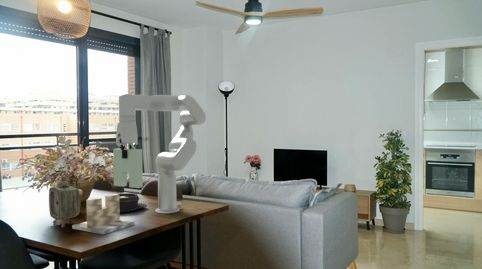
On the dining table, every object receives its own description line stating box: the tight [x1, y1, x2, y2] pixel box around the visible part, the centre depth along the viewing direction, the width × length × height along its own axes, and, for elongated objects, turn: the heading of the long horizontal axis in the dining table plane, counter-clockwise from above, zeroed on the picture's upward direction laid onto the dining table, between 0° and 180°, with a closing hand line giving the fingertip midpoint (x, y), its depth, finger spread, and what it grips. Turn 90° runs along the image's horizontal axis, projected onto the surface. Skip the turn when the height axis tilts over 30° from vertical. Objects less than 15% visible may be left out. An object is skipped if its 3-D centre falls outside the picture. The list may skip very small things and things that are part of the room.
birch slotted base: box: [71, 193, 136, 235], centre depth 176 cm, size 18×20×14 cm
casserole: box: [118, 192, 148, 214], centre depth 208 cm, size 25×19×8 cm
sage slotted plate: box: [112, 148, 144, 189], centre depth 186 cm, size 3×16×18 cm, turn 60°
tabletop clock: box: [48, 170, 81, 229], centre depth 180 cm, size 14×9×25 cm, turn 45°
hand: (127, 157), depth 186 cm, fingers closed on sage slotted plate, 3 cm apart
